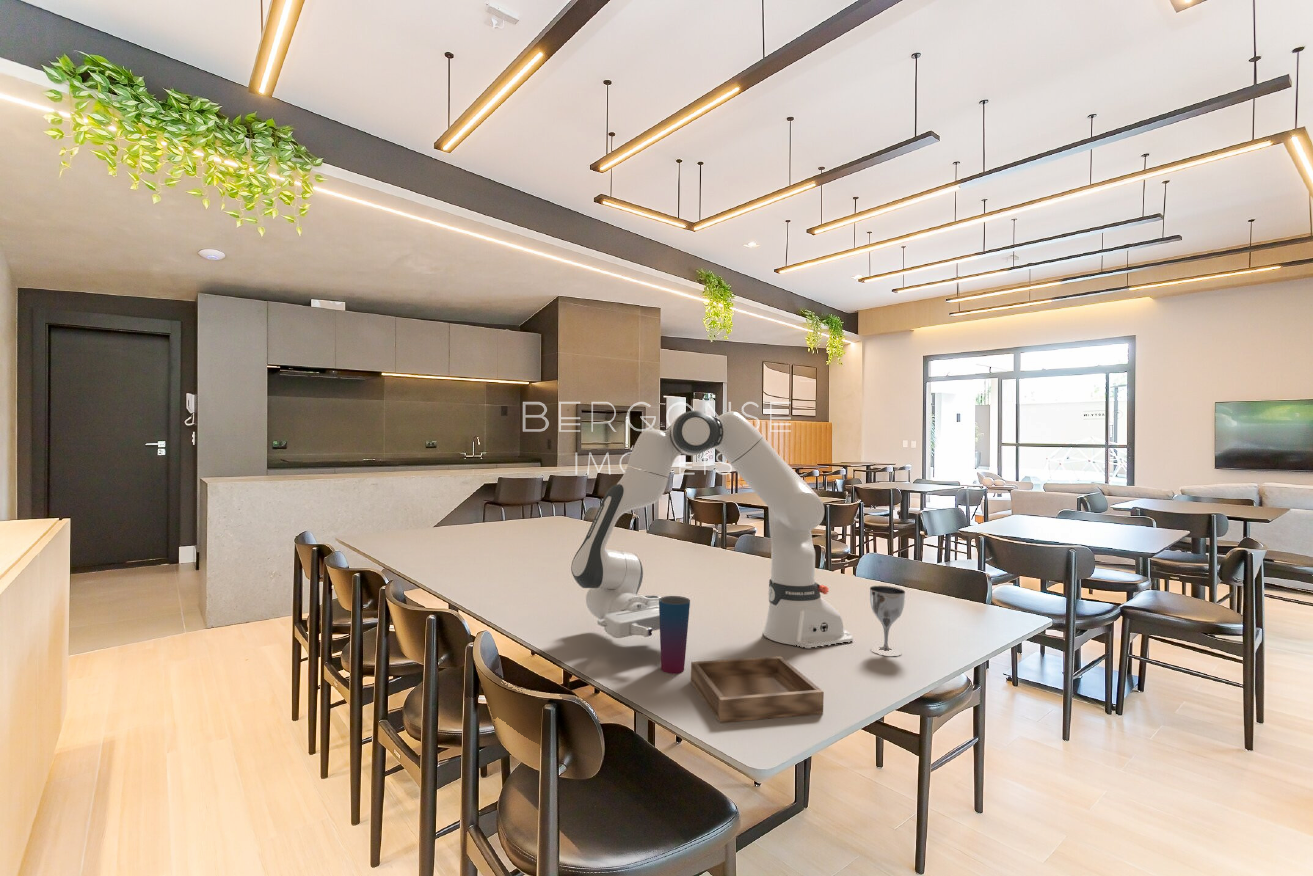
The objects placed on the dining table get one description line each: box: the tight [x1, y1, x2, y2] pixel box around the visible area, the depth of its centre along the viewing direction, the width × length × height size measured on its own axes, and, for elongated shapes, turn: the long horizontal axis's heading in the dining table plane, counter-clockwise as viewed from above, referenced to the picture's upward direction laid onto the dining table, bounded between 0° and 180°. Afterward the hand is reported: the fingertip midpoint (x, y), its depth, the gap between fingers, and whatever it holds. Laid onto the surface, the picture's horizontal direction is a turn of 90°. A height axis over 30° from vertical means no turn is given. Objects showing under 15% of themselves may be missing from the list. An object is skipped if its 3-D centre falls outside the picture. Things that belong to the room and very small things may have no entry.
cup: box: [659, 595, 691, 674], centre depth 126 cm, size 7×7×15 cm
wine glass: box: [869, 585, 906, 651], centre depth 140 cm, size 8×8×15 cm
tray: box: [690, 656, 825, 724], centre depth 113 cm, size 20×18×4 cm
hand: (666, 629), depth 128 cm, fingers open, 8 cm apart
